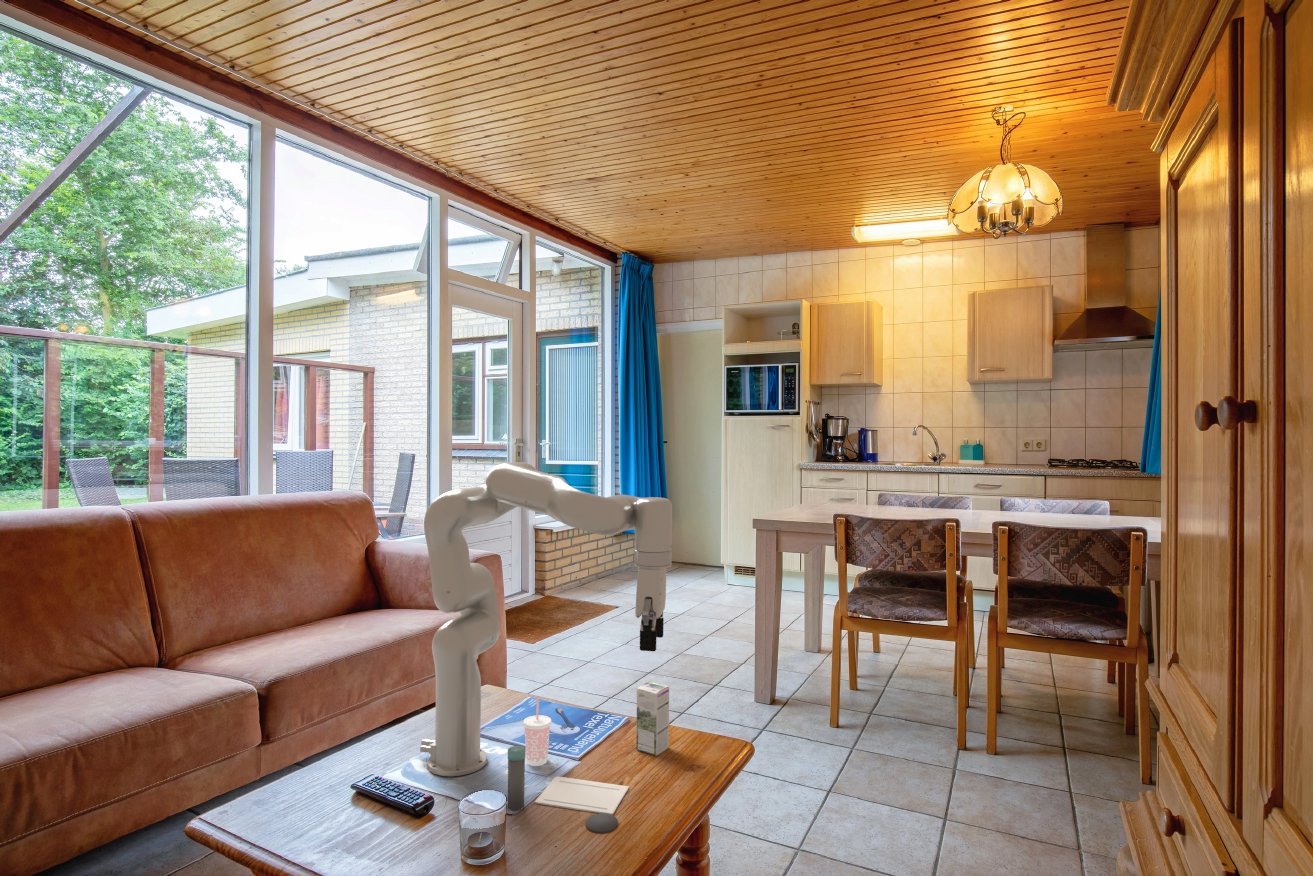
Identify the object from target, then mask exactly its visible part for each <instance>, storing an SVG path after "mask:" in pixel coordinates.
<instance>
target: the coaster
mask: <svg viewBox="0 0 1313 876" xmlns="http://www.w3.org/2000/svg"><path fill="white" fill-rule="evenodd" d="M584 824H585V828H586V829H587V830H588V831H590V832H592V833H596V834H605V833H609V832H610V833H611V832H612V831H614V830H615V829H616V828H617V827H618V824H619V820H618V818H617V817H616V816H614V814H613V815H610V814H605V813H595V814H592V815H590V816H588V817H587V818H586V819H585V823H584Z"/></svg>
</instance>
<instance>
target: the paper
mask: <svg viewBox="0 0 1313 876" xmlns="http://www.w3.org/2000/svg"><path fill="white" fill-rule="evenodd" d="M629 789H630V786H629V785H621V784H616V783H615V784H614V783H606V782H600V781H593V780H587V779H578V778H570V777H565V776H555V777H554V778H553V779H552V780H551V781H550V782H549V784H548V785H547V786H546V787H545V789H544V790H543V791H542V792H541V793H540V794H539V796H538V797H537V798H536V799H535V801H534V804H536V805H543V806H549V807H556V808H557V807H558V808H563V809H568V810H569V809H570V810H575V811H582V812H587V813H589V812H590V813H595V814H600V813H605V814H610V815H613V816H614V814H615V812H616V810H617V808H618V807H619V806H620V803H621V802H622V800H623V799H624V797H625V795H626V794H627V792H628V790H629Z"/></svg>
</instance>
